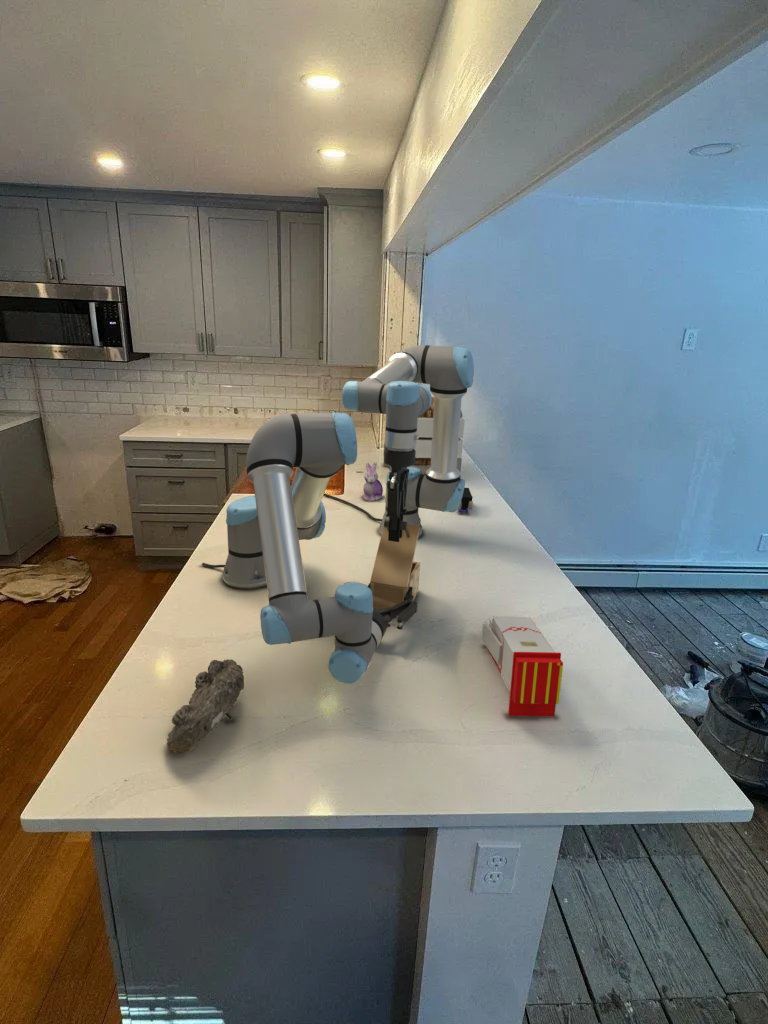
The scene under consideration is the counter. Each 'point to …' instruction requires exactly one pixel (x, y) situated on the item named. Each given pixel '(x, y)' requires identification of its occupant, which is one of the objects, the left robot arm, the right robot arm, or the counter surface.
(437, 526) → the counter surface
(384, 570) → the lid
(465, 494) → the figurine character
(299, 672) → the counter surface
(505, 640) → the toy
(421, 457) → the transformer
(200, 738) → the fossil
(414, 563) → the chest
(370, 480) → the figurine
